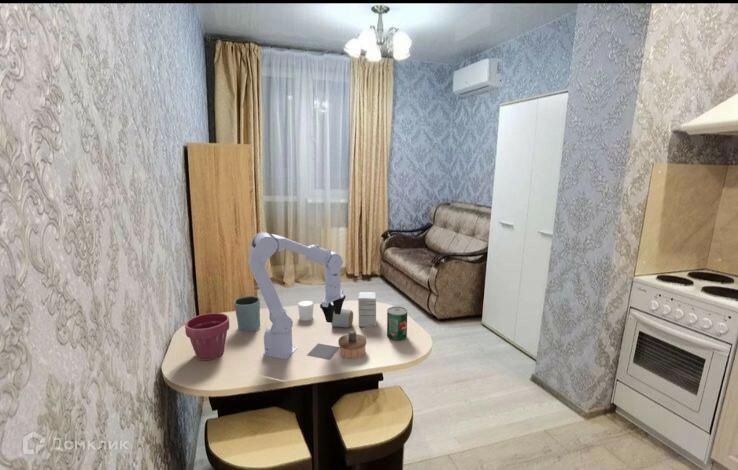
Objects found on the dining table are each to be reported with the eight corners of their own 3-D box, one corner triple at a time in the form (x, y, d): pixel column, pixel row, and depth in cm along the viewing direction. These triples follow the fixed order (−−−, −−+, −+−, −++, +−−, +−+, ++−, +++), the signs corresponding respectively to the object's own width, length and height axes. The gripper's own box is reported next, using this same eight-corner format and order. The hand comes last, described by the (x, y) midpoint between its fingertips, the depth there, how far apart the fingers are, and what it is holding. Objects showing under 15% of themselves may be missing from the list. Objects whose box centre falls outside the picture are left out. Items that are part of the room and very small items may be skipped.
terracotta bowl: (336, 356, 130) (335, 346, 129) (345, 344, 138) (345, 335, 137) (360, 361, 127) (360, 350, 126) (368, 348, 135) (368, 338, 135)
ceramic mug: (350, 330, 150) (350, 312, 148) (331, 329, 151) (330, 311, 149) (354, 320, 160) (354, 303, 159) (336, 319, 161) (336, 302, 160)
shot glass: (317, 317, 163) (316, 302, 161) (306, 322, 157) (306, 307, 156) (305, 313, 166) (305, 298, 165) (294, 319, 161) (294, 303, 159)
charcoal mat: (306, 356, 130) (306, 355, 130) (318, 344, 139) (318, 343, 139) (329, 360, 127) (329, 359, 127) (340, 348, 136) (340, 347, 136)
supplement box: (359, 319, 161) (359, 291, 158) (376, 319, 160) (376, 291, 158) (358, 326, 153) (357, 298, 151) (375, 327, 153) (376, 298, 151)
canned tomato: (408, 341, 141) (408, 314, 139) (387, 341, 141) (387, 314, 139) (405, 332, 149) (406, 306, 146) (386, 332, 149) (386, 306, 146)
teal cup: (254, 334, 147) (252, 305, 144) (231, 332, 148) (228, 304, 146) (265, 323, 157) (264, 296, 154) (243, 321, 158) (241, 295, 156)
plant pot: (210, 341, 141) (208, 309, 139) (240, 348, 136) (237, 315, 133) (179, 359, 128) (175, 325, 126) (210, 368, 123) (206, 332, 120)
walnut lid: (334, 346, 129) (333, 336, 128) (344, 334, 138) (344, 324, 137) (360, 351, 126) (360, 341, 125) (370, 338, 135) (370, 328, 134)
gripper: (334, 291, 129) (335, 327, 132) (350, 278, 142) (350, 311, 145) (316, 289, 131) (317, 324, 134) (333, 277, 144) (334, 309, 147)
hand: (333, 317), depth 140 cm, fingers open, 7 cm apart
